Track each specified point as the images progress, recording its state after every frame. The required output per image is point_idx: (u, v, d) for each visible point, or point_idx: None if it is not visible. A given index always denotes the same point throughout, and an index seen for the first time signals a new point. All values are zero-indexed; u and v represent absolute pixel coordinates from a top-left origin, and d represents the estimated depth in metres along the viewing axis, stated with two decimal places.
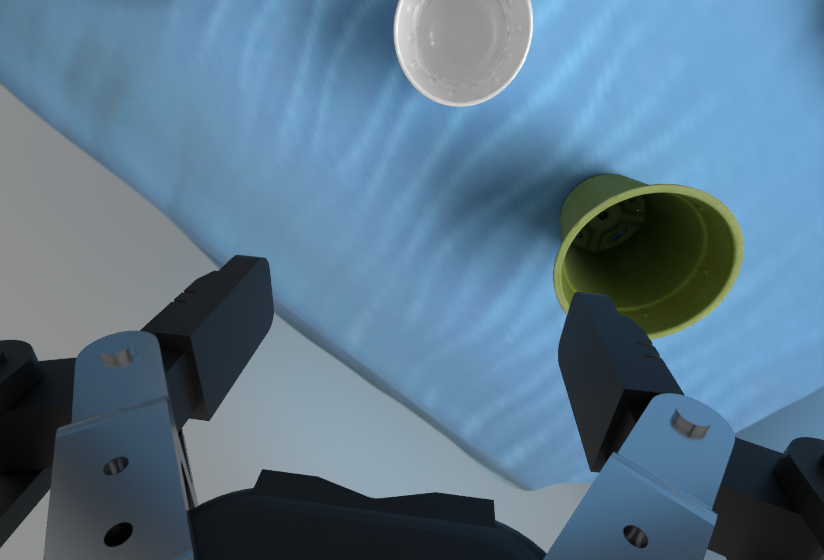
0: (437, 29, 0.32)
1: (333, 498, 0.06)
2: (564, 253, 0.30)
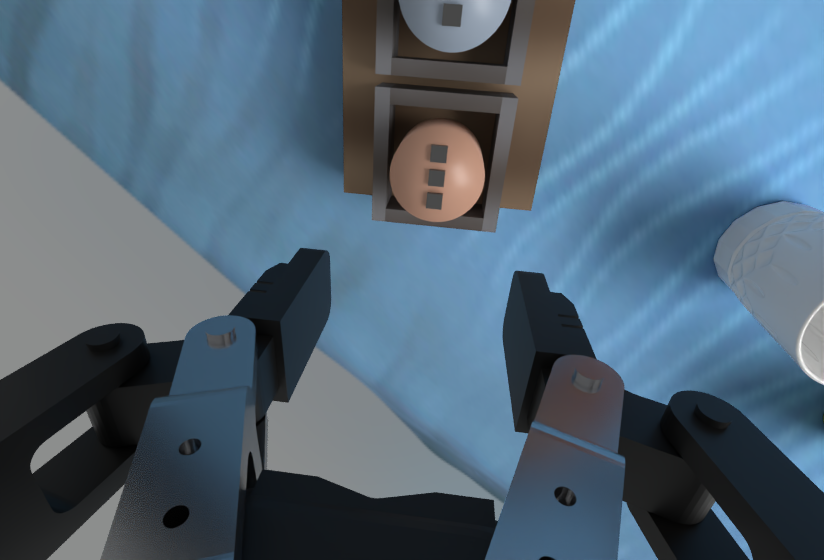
0: None
1: (333, 498, 0.06)
2: None
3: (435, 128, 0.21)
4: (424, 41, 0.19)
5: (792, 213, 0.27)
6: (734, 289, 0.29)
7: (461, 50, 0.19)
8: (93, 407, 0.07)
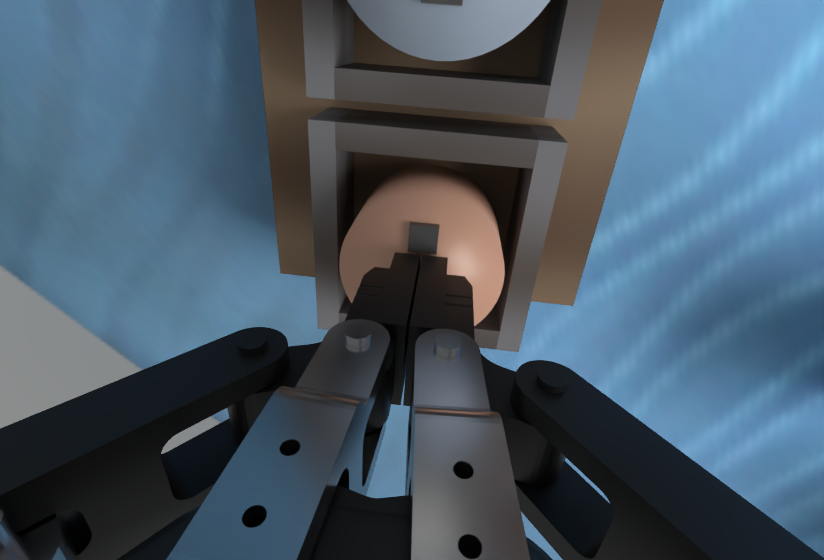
0: None
1: (333, 498, 0.06)
2: None
3: (416, 195, 0.12)
4: (385, 37, 0.09)
5: None
6: None
7: (464, 56, 0.09)
8: (242, 410, 0.08)
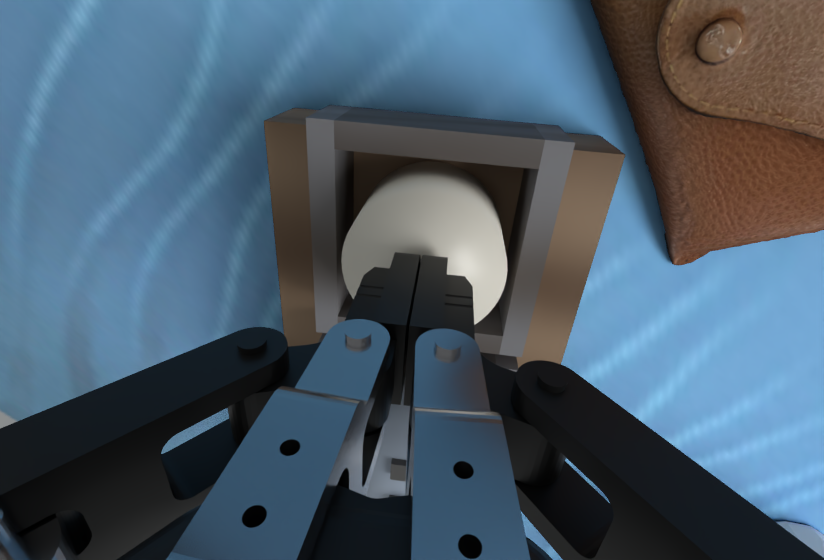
0: None
1: (333, 498, 0.06)
2: None
3: None
4: None
5: None
6: None
7: None
8: (242, 410, 0.08)
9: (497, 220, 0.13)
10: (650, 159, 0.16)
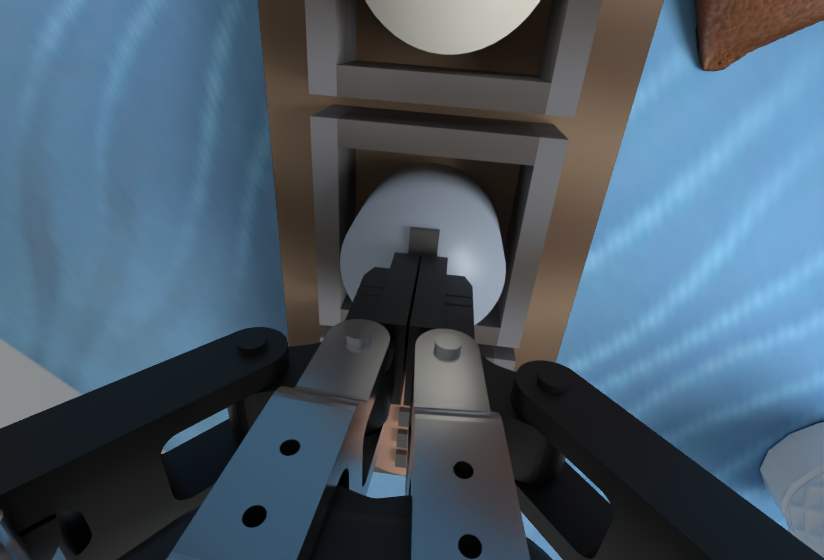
0: None
1: (333, 498, 0.06)
2: None
3: None
4: None
5: None
6: (790, 528, 0.23)
7: None
8: (242, 410, 0.08)
9: None
10: None
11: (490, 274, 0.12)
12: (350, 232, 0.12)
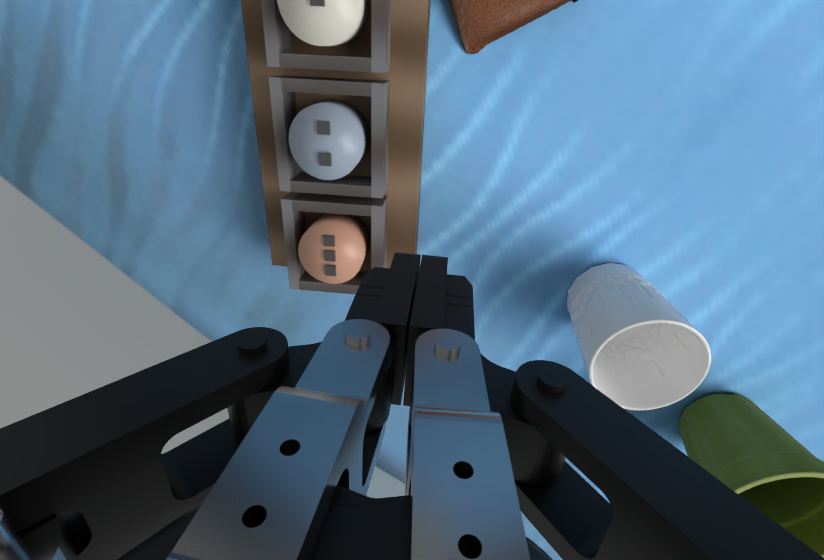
0: None
1: (333, 498, 0.06)
2: None
3: (324, 224, 0.31)
4: (310, 173, 0.29)
5: (608, 275, 0.35)
6: None
7: (334, 178, 0.29)
8: (242, 410, 0.08)
9: None
10: None
11: (354, 142, 0.28)
12: (292, 125, 0.28)
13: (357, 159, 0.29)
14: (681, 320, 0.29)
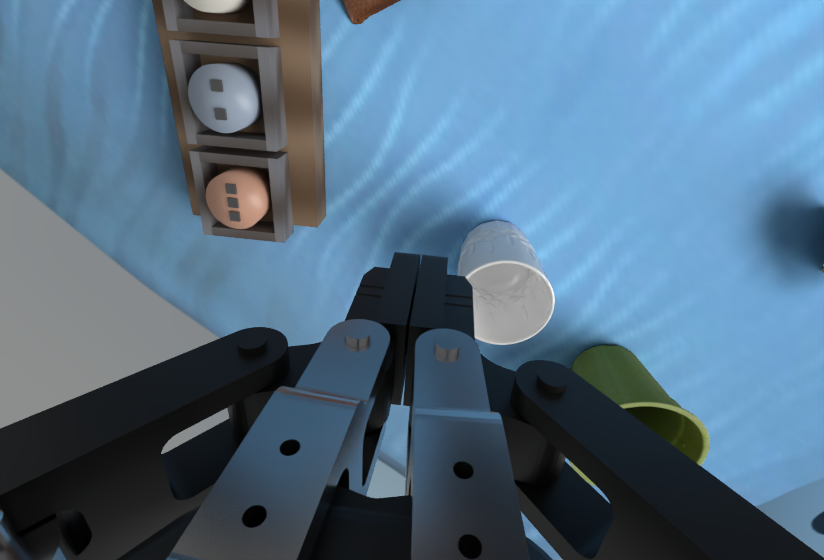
0: None
1: (333, 498, 0.06)
2: None
3: (226, 174, 0.35)
4: (209, 127, 0.34)
5: (488, 229, 0.40)
6: None
7: (230, 132, 0.34)
8: (242, 410, 0.08)
9: None
10: None
11: (244, 99, 0.32)
12: (190, 82, 0.32)
13: (248, 114, 0.33)
14: (526, 262, 0.33)
